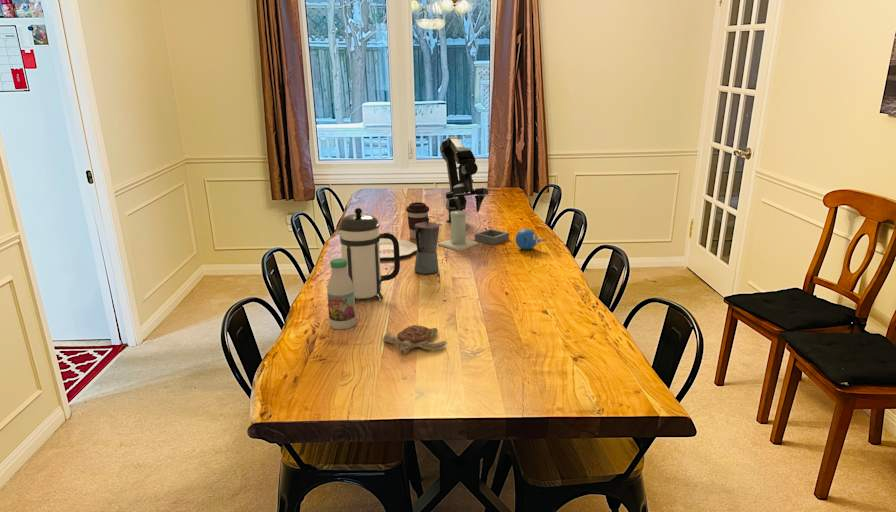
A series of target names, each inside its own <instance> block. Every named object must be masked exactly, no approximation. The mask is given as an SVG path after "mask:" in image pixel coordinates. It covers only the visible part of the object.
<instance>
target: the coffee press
mask: <svg viewBox="0 0 896 512" xmlns="http://www.w3.org/2000/svg"><path fill="white" fill-rule="evenodd" d="M380 224H381V223H380V221H378V219H377V217H376V216H374V215H372V214H369V213H363V209H361V208H360V207H357V208H355V209H354V214H348V215H346V216H344V217H343V218H342V219H341V220H340V221H339V224H338V227H337V229H336V230H335V233H334V236H339V243H340V246H341V248H340V249H341V258H342V259H346V261H347V268H346V270H347V273H348V275H349V277H350V279H351V281H352V283H353V287H354V296H355V301H356V300H357V299H362V300H363V299H370V298H373V297H374V298H375V299H376V300H377V301H379V302H380V301H383V300H384V296H383V294H382V293H381V291H382V283H383V282H385V281H391V280H393V279H395V278H396V277H397V276H398V275H399V272H400V269H401V268H400V267H401V260H400V258H401V257H400V253H399V243H398V240H397V239H398V238H397V237H396V236H395V235H394V234H392V233H389V232H383V233H380V232H379V231H380V230H379V227H380ZM380 239H390V240H391V241H392V242H393V247H394V250H393V252H394V259H393V264H394V265H393V266H394V267H393V270H392V272H391V273H389V274H384V275H382V274H381V273H382V272H381V259H380V253H381V252H380V250H379V241H380Z"/></svg>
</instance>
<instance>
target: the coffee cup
mask: <svg viewBox="0 0 896 512" xmlns="http://www.w3.org/2000/svg"><path fill="white" fill-rule="evenodd" d="M405 210H406V212H407V222H408V230H409V237H410V238H411V239H412V240H413V239H414V240H416V234H415V224H417V223H422V222H426V220H425V218H429V215H428V214H429V213H428V212H429V211H430V207H429V205H426V202H421V201H420V202H419V201H418V202H417V201H416V202H410V204H409V205H408V206H407V207H406V209H405Z"/></svg>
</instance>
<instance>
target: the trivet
mask: <svg viewBox="0 0 896 512" xmlns="http://www.w3.org/2000/svg"><path fill="white" fill-rule="evenodd" d="M479 242H480V241H476V240H471V239H469V238H468V239H467V238H466V243H465V244H461V245H456V244H452V243H451V238H450V239H447V240H443V241H441V242H437V246H440V247H443V248H446V249H451V250H455V251H458V252H461V251H464V250H467V249H469V248H473V247H475V246H478V245H479Z"/></svg>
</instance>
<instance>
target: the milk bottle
mask: <svg viewBox="0 0 896 512" xmlns="http://www.w3.org/2000/svg"><path fill="white" fill-rule="evenodd" d="M329 266H330V269H331V274H330V277H329V279H328V282H327V289H326V290H327V292H326V293H327V296H326V297H327V307H328V309H327V310H328V318H329V319H328V320H329V322H328V323H329V326H330V327H331V328H332V329H335V330H348V329H351V328H353V327H355V325H356V324H357V311H356V300H355V296H354V287H353V283H352V281H351V279H350V277H349V275H348V273H347V270H346V268H347V261H346V259H342V257H339V258H338V257H337V258H334V259H331V260H330V265H329Z"/></svg>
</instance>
